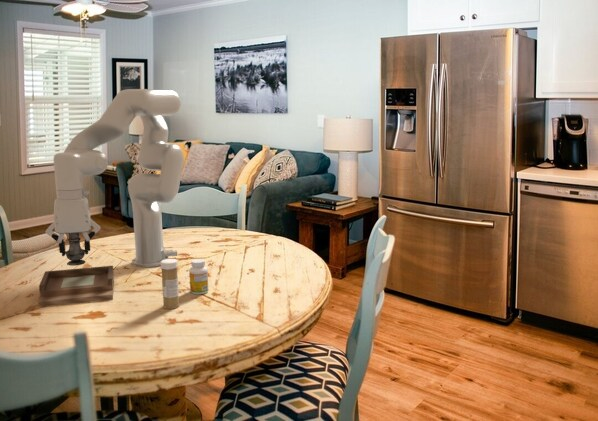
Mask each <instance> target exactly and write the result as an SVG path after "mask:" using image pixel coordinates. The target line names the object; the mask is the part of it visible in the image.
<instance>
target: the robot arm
mask: <svg viewBox="0 0 598 421" xmlns="http://www.w3.org/2000/svg"><path fill="white" fill-rule="evenodd" d="M181 102H182V101H181V98H180V96H179V94H178V92H176V91H175V90H172V89H148V88H130V89H129V88H127V89H122V90H120V91H119V92H118V93H117V94H116V95H115V97H114V98H113V99H112V101H111V102H110V103H109V105H108V107H107V108H106V110H105V111H104V112H103V114H102V115H101V117H100V118H99V119H98V120H96V121H95V122H94V123H92V124H90V125H89V126H88V127H86V128H84V129H83V130H81V131H80V132H78V133H77V134H76V135H75V136H74V137H73V138H72V139H71V141H70V142H69V144H68V145H67V146H66V147H65V149H64V151H63V152H57V153H56V154H54V156H53V168H54V170H53V171H54V181H55V192H56V198H55V199H54V203H53V222H51V224H50V225H49V226H48V228H46V230H45V234H46V235H48V236H49V237H51V238H52V239H53V240H55V242H56V243H57V244H58V250H59V253H60V254H61V256H62V257H65V256H66V254H65V252H66V241H64V236H65V235H67V234H68V235H69V233H79V234H80V233H82V235H83V237H84V242H83V244H84V250H85V255H89V252H90V251H91V241H90V240H92V238H93V237H94V236H95V235H96V234H97V233H99V231H100V230H101V226H100V225H99V224H98V223H96V221H95V220H93V218H92V217H91V216H92V215H91V210H90V205H89V204H90V203H89V200H88V198H87V197H85V196H88V195H90V190H89V189H85V187H84V179H83V176H97V175H101V174H103V172H105V171H106V170H107V168H108V165H109V160H108V158H107V156H106V154H105V153H103V152H102V151H100V150H96V149H97V148H98V147H100V146H103V145H105V144H108V143H111V142H113V141H117V140H118V139H121V138H122V137H123V135H125V134H126V132H127V130H128V128H129V127H130V126H131V124H132V123H133V121H134V120H135V118H136V117H140V119H141V121H142V122H141V123H142V126H143V132H142V139H141V144H140V148H139V154H138V164H139V166H140V168H142V169H144V170H147V171H148V170H149V171H154V172H155V171H157V172H160V173H150V172H149V173H148V172H141V173H140V172H139V173H137V174H134V175H132V176H131V178H129V181H128V185H127V190H128V194H129V198H130V201H131V206H132V216H133V231H134V232H133V234H134V247H135V257H134V258H133V259H131V264H132V265H133V266H134V267H139V268H155V267H159V266H160V267H161V261H162V260H165V259H170V258H169V257H177V256H178V250H173V249H169V250H167V249H165V246H164V235H163V234H164V233H163V219H162V210H161V207H160V205H159V203H161V204H162V203H164V204H168V203H169V204H170V203H171V202H173V201H174V200H176V198H177V196H178V194H179V193H178V192H179V189H180V185H181V179H182V175H183V174H182V173H183V168H184V161H185V160H184V152H183V150H182V148H181V147H180V146H179V145H178V144H175V143H168V140H169V128H168V127H169V126H168V124H167V122H166V120H165V119H164V116H165V117H166V116H169V117H170V116H174V115H176V114H178V112H179V111H180V109H181V104H182V103H181ZM92 228H93V229H92ZM91 229H92V230H91ZM53 230H54V231H55V232H54V231H53ZM58 234H59V235H58Z"/></svg>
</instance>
